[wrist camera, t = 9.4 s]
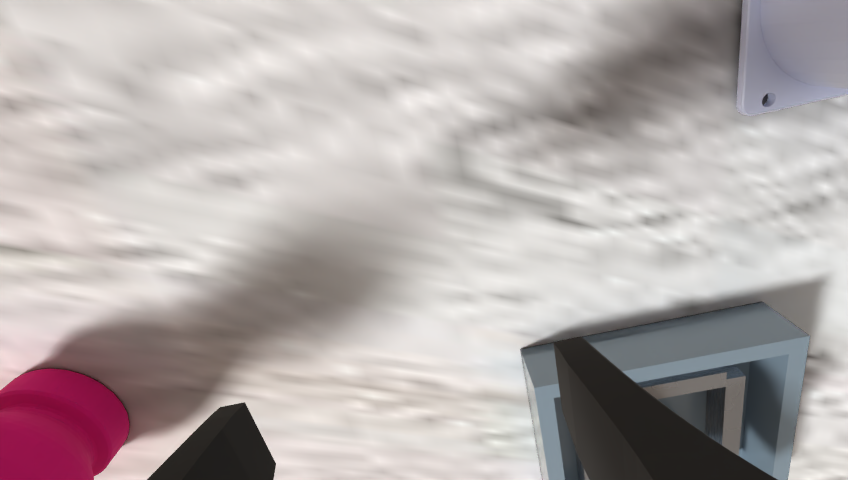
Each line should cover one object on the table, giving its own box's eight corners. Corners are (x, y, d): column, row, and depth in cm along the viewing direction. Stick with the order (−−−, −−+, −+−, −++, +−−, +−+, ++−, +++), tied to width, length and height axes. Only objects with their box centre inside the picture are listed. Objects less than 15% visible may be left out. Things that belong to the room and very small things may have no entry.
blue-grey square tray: (762, 301, 21) (810, 335, 19) (745, 470, 26) (782, 515, 24) (520, 349, 22) (534, 388, 20) (546, 504, 27) (560, 551, 24)
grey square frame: (726, 349, 22) (746, 368, 21) (719, 461, 25) (736, 483, 24) (566, 380, 22) (576, 400, 21) (579, 485, 26) (588, 508, 24)
